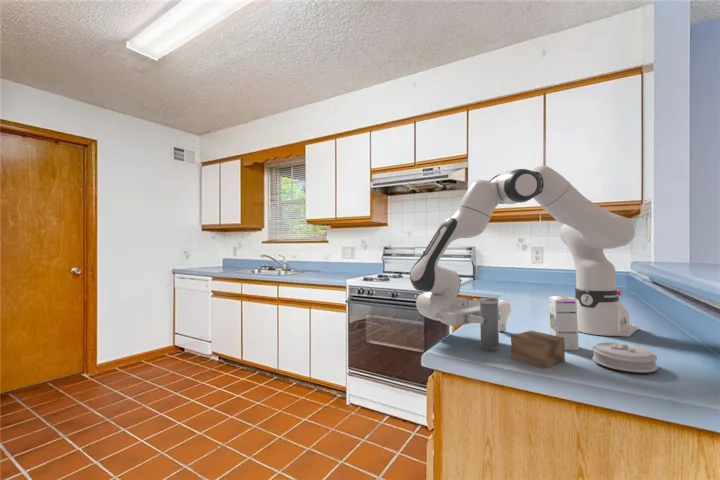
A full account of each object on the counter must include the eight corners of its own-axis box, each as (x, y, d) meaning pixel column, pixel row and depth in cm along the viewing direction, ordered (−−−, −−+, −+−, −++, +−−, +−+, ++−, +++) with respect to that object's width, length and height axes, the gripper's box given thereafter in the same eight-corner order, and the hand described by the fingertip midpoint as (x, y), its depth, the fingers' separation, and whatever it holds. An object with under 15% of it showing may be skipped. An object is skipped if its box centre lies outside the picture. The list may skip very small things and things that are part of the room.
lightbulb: (506, 335, 113) (505, 302, 114) (488, 331, 118) (487, 299, 118) (515, 331, 118) (514, 299, 118) (497, 328, 122) (496, 297, 122)
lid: (580, 360, 89) (580, 341, 89) (619, 356, 92) (618, 337, 92) (628, 379, 77) (628, 356, 77) (671, 373, 80) (671, 351, 80)
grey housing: (488, 341, 102) (487, 297, 102) (503, 345, 97) (502, 299, 97) (476, 344, 99) (475, 299, 99) (491, 348, 95) (490, 301, 95)
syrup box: (579, 350, 96) (578, 299, 96) (556, 349, 98) (555, 298, 98) (571, 344, 102) (570, 295, 102) (549, 344, 103) (548, 295, 103)
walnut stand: (531, 351, 96) (531, 330, 96) (564, 361, 88) (564, 337, 88) (511, 357, 92) (511, 335, 92) (544, 368, 84) (543, 343, 84)
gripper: (430, 304, 104) (465, 312, 92) (477, 297, 115) (513, 303, 103) (431, 325, 104) (466, 335, 92) (477, 316, 115) (514, 325, 103)
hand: (491, 318), depth 98 cm, fingers closed on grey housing, 5 cm apart
